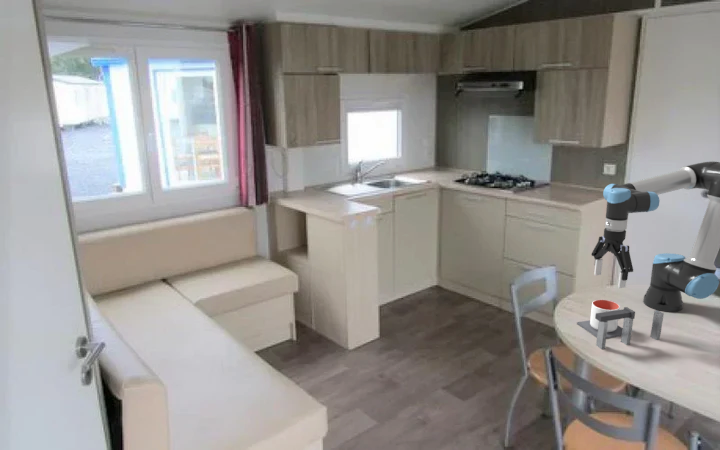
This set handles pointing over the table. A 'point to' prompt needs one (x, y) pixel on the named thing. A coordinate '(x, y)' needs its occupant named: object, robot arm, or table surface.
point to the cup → (603, 306)
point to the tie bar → (615, 315)
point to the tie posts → (629, 330)
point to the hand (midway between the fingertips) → (609, 281)
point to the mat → (594, 332)
